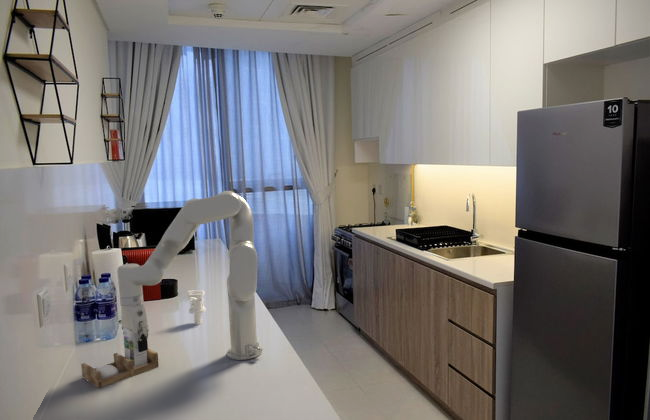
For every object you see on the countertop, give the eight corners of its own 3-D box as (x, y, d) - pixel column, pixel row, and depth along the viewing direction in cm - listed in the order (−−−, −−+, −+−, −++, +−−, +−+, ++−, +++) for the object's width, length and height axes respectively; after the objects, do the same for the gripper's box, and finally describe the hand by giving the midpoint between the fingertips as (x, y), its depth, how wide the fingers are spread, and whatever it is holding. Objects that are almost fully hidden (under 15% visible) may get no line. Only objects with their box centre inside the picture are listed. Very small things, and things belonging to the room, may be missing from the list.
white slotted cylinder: (188, 322, 226) (186, 289, 224) (204, 319, 229) (202, 287, 228) (192, 327, 220) (189, 293, 218) (208, 324, 223) (206, 290, 221)
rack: (158, 366, 179) (157, 352, 178) (98, 388, 163) (97, 373, 163) (141, 358, 187) (140, 345, 186) (82, 378, 171) (81, 363, 171)
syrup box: (124, 367, 179) (121, 327, 177) (140, 362, 183) (137, 322, 182) (132, 372, 175) (129, 330, 173) (148, 366, 179) (145, 326, 178)
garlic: (90, 378, 172) (89, 367, 171) (108, 371, 177) (107, 360, 177) (104, 383, 167) (103, 372, 167) (122, 376, 173) (121, 365, 172)
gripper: (154, 301, 173) (159, 349, 175) (129, 293, 185) (134, 339, 187) (133, 306, 168) (138, 357, 170) (109, 298, 179) (114, 345, 181)
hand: (136, 347), depth 178 cm, fingers open, 9 cm apart
